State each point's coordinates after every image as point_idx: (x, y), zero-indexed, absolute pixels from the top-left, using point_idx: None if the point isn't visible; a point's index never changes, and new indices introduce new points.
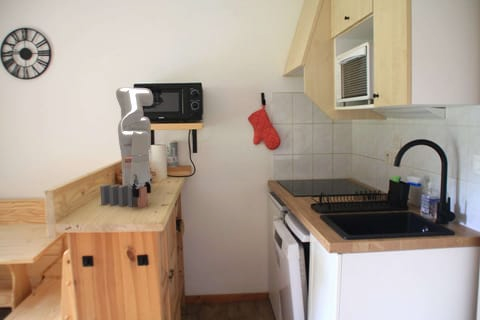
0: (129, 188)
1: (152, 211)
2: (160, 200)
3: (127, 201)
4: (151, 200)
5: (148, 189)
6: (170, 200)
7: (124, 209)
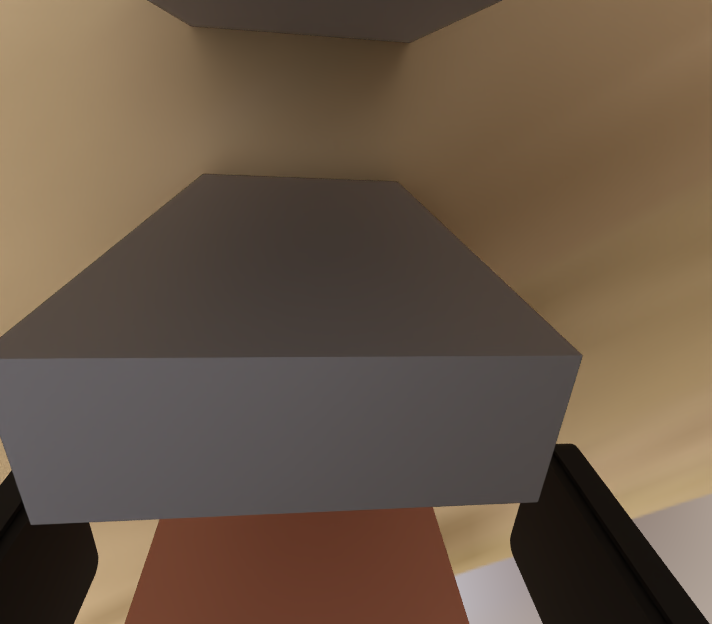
0: (21, 437)
1: (112, 582)
2: (689, 401)
3: (377, 32)
4: (707, 288)
5: (550, 601)
6: (674, 498)
7: (15, 210)
